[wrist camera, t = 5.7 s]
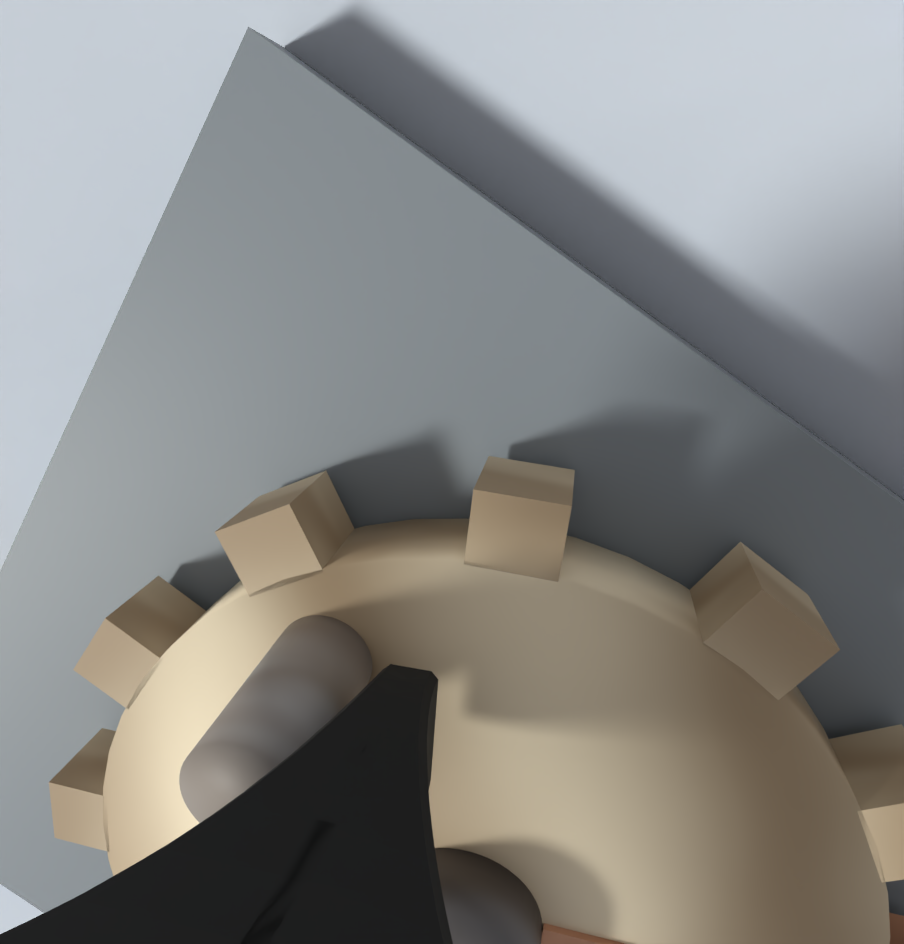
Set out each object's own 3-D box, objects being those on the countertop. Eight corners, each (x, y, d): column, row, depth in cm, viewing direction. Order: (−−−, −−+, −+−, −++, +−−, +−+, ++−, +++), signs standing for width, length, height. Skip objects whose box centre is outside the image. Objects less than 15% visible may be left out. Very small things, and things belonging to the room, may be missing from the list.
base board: (1322, 805, 12) (1533, 972, 10) (601, 1225, 20) (603, 1389, 17) (281, 45, 12) (183, -11, 9) (-68, 776, 19) (-182, 871, 16)
